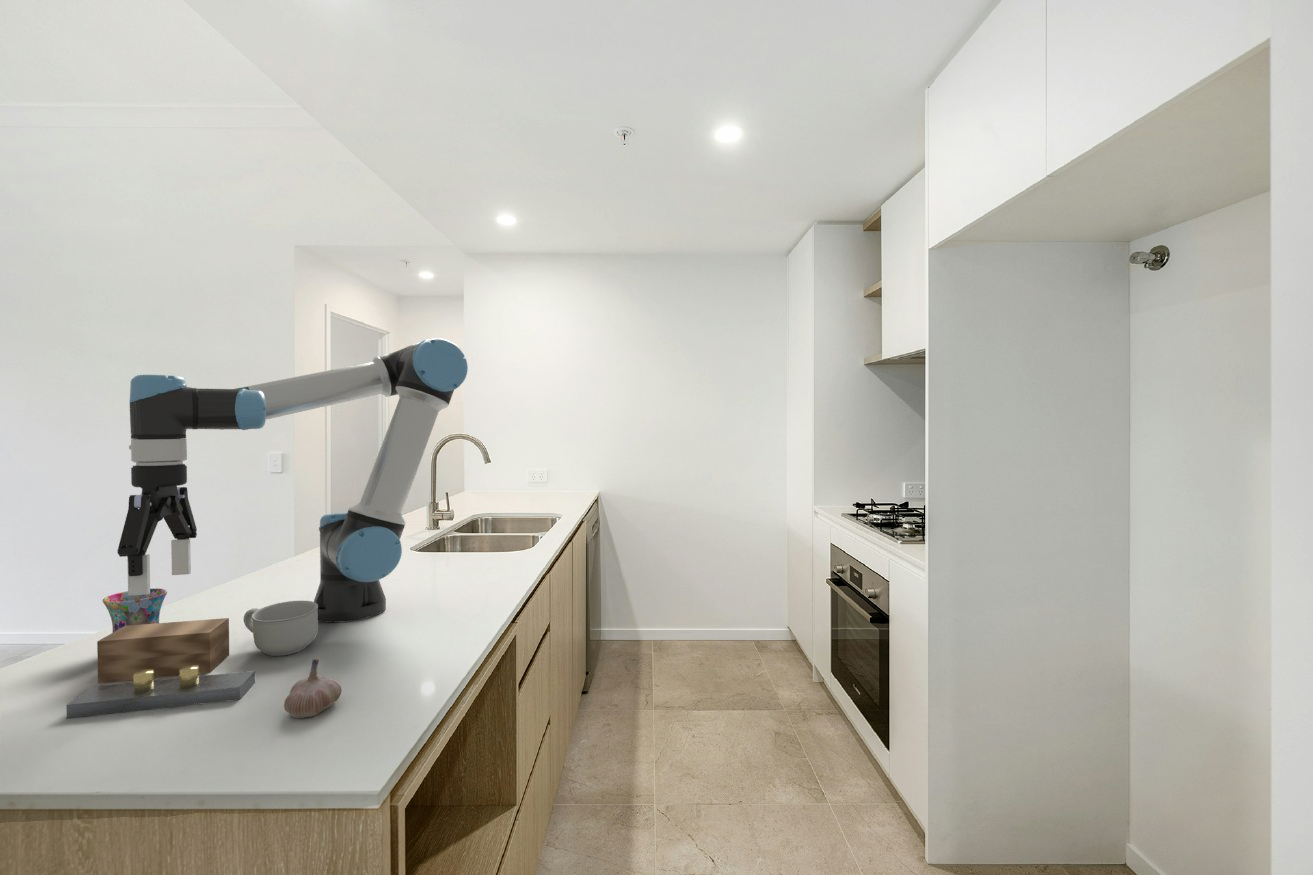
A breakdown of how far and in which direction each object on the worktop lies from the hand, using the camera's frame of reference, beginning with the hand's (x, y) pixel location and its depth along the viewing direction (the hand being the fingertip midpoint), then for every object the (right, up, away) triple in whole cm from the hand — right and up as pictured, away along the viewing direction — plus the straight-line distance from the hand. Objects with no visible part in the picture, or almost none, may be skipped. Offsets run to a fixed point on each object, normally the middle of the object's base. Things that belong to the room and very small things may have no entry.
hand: (161, 583), depth 105 cm
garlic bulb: (+36, -16, -15) cm, 42 cm away
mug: (-12, -15, +10) cm, 22 cm away
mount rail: (+11, -15, -12) cm, 22 cm away
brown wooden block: (+1, -15, 0) cm, 15 cm away
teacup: (+15, -15, +9) cm, 23 cm away
